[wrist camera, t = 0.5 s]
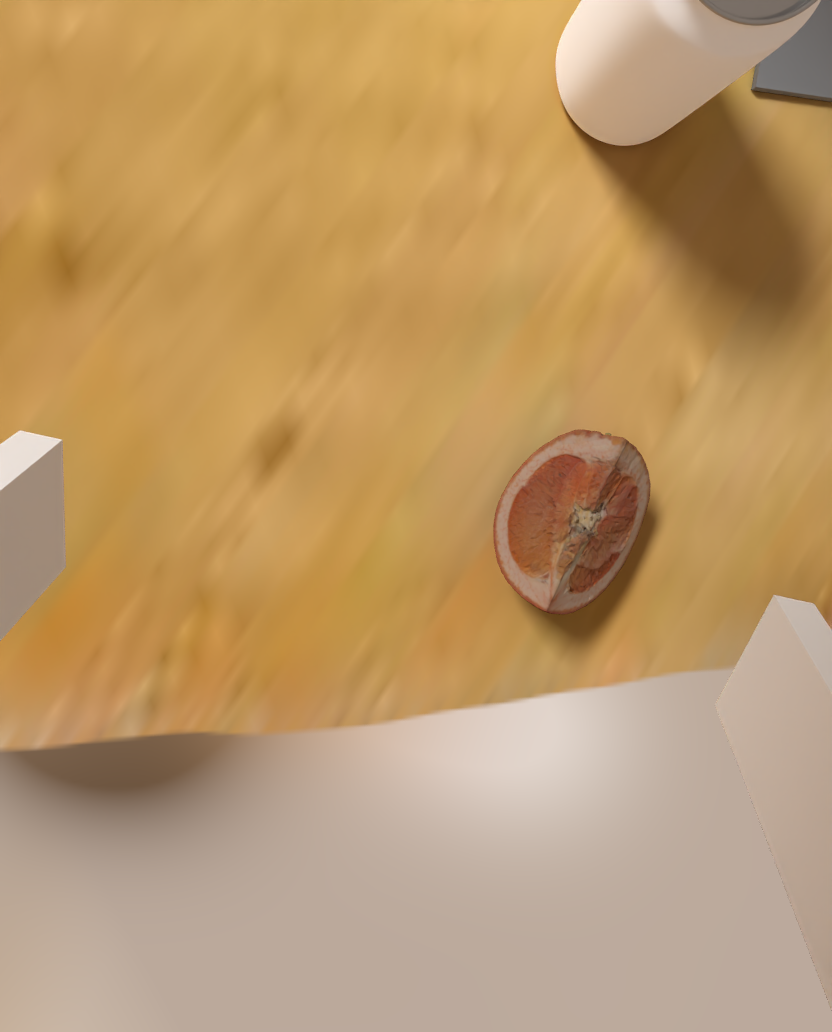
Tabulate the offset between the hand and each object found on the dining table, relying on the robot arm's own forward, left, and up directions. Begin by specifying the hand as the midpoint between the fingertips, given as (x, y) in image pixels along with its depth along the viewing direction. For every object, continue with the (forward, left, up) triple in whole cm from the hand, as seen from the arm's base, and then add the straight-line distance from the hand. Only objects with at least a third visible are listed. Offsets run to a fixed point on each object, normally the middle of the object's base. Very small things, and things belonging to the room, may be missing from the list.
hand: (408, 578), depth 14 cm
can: (-18, +9, -23) cm, 31 cm away
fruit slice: (+2, +9, -23) cm, 25 cm away
